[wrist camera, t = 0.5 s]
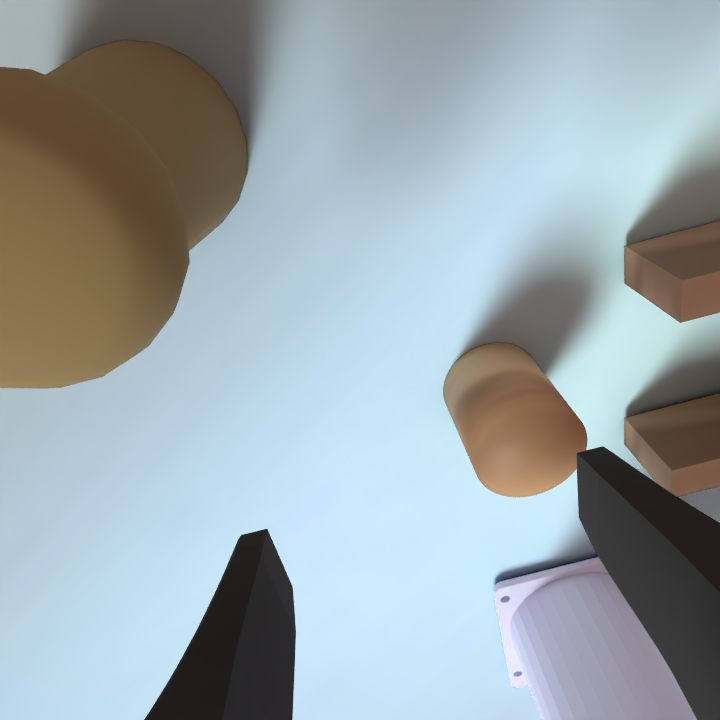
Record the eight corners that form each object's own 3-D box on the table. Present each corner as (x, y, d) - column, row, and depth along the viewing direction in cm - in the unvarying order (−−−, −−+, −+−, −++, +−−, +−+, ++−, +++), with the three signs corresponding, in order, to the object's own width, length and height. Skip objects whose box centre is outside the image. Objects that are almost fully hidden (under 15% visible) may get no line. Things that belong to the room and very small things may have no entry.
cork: (184, 1, 16) (15, -71, 6) (280, 201, 19) (268, 362, 9) (0, 93, 16) (-416, 157, 7) (121, 272, 19) (-48, 495, 10)
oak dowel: (540, 411, 24) (589, 481, 20) (451, 434, 24) (481, 508, 20) (533, 331, 22) (585, 391, 18) (435, 357, 22) (466, 422, 18)
